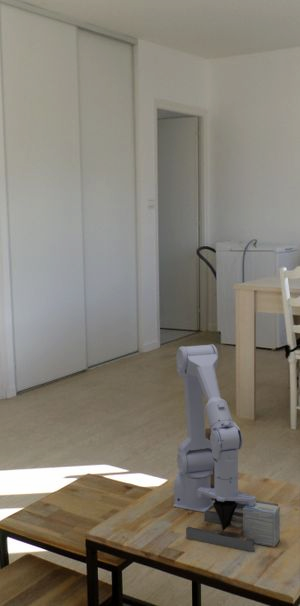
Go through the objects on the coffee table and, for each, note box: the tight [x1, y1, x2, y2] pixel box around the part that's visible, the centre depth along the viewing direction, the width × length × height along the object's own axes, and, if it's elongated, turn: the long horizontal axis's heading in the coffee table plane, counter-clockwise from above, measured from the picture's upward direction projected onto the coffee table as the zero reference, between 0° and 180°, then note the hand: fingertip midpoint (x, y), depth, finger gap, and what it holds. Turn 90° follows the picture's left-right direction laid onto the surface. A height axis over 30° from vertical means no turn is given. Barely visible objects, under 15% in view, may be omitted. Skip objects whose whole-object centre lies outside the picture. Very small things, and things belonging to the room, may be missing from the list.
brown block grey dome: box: [223, 517, 243, 537], centre depth 182 cm, size 4×9×4 cm, turn 152°
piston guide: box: [185, 510, 255, 553], centre depth 183 cm, size 17×13×3 cm
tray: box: [215, 499, 279, 517], centre depth 194 cm, size 13×9×3 cm
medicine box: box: [243, 503, 281, 548], centre depth 179 cm, size 8×4×9 cm, turn 63°
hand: (226, 529), depth 184 cm, fingers closed
